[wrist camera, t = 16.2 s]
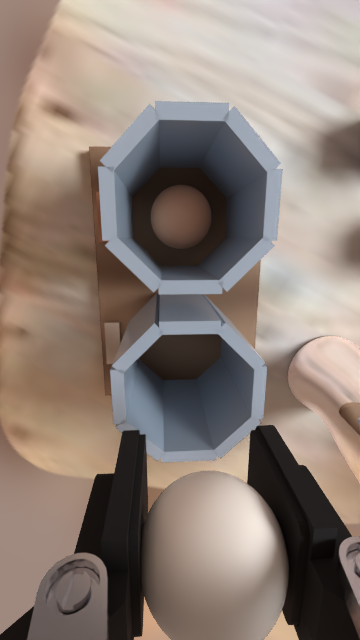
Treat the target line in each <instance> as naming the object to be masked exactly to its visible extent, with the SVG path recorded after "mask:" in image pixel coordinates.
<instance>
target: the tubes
mask: <svg viewBox="0 0 360 640" xmlns="http://www.w3.org/2000/svg"><path fill="white" fill-rule="evenodd" d="M100 161H101V163H102V164H103V165H104V167H99V166H98V177H99V193H100V210H101V227H102V241H109V242H108V243H107V244H106V245H105V246H106V247H107V248H108V249H109V250H110V251H111V252H112V253H113V254H114V255H115V256H116V257H117V258H118V259H119V260H120V261H121V262H122V263H123V264H124V265H125V266H126V267H127V268H129V269H130V270H131V271H132V272H133V273H134V274H135V275H136V276H137V277H138V278H139V279H140V280H141V281H142V282H143V283H144V284H145V285H146V286H147V287H148V288H149V289H150V290H151V291H153V292H155V291H156V290H157V289H158V292H159V295H160V296H159V295H158V294H157V293H156V294H155V295H154V296H153V297H152V298H151V299H150V300H149V301H148V302H147V303H146V304H145V305H144V306H143V307H142V308H141V310H140V311H139V312H138V313H137V314H136V315H135V316H134V317H133V318H132V319H131V320H130V321H129V323H128V326H127V328H126V331H125V333H124V336H123V339H122V341H121V344H120V346H119V349H118V351H117V354H116V357H115V359H114V362H113V364H112V367H111V369H110V376H111V393H112V409H113V424H116V429H118V430H119V431H120V432H121V433H123V431H126V430H139V431H140V434H146V453H148V454H149V455H150V456H151V457H153V458H154V459H155V460H156V461H158V460H159V459H160V458H161V462H184V461H209V460H216V455H217V456H218V457H219V458H220V459H221V458H222V457H223V456H224V455H225V454H226V453H227V452H229V451H230V450H231V449H232V448H233V447H234V446H235V445H237V444H238V443H239V442H240V441H241V440H242V439H243V438H245V437H246V436H247V435H248V434H249V433H250V432H251V431H252V430H254V429H255V428H256V426H258V425H260V424H261V422H260V420H259V419H263V416H264V403H265V390H266V377H267V366H266V365H265V363H266V362H265V361H264V360H263V359H262V358H261V356H260V355H259V354H258V353H257V352H256V350H255V349H254V348H253V347H252V346H251V345H250V343H249V342H248V341H247V340H246V339H245V337H244V336H243V335H242V334H241V333H240V332H239V330H238V329H237V328H236V327H235V326H234V324H233V323H232V322H231V321H230V320H229V319H228V318H227V317H226V316H225V315H224V314H223V313H222V312H221V311H220V310H219V309H218V308H217V307H216V306H215V305H214V304H213V303H212V302H211V301H210V300H209V299H208V297H207V296H206V295H205V294H222V288H223V289H224V290H225V291H226V292H227V291H228V290H229V289H231V288H232V287H233V286H234V285H235V284H236V283H237V282H238V281H239V280H240V279H241V278H242V277H243V276H244V275H245V274H246V273H247V272H248V271H249V270H250V269H251V268H252V267H253V266H254V265H255V264H256V263H257V262H258V261H259V260H260V259H261V258H262V257H263V256H264V255H266V254H267V253H268V252H269V251H270V250H271V249H272V248H273V247H274V244H273V243H272V242H271V241H277V234H278V221H279V208H280V195H281V182H282V169H276V168H277V167H278V166H279V165H280V164H281V163H280V162H279V160H278V159H277V158H276V157H275V155H274V154H273V153H272V152H271V151H270V149H269V148H268V147H267V146H266V144H265V143H264V142H263V141H262V139H261V138H260V137H259V136H258V134H257V133H256V132H255V131H254V130H253V128H252V127H251V126H250V125H249V123H248V122H247V121H246V120H245V118H244V117H243V116H242V115H241V113H240V112H239V111H238V110H237V109H236V107H235V106H234V107H233V108H232V109H231V110H230V111H229V103H207V102H169V101H155V109H154V108H153V107H152V106H151V105H150V104H149V105H148V106H147V107H146V108H145V110H144V111H143V112H142V113H141V114H140V115H139V116H138V118H137V119H136V120H135V121H134V122H133V123H132V124H131V126H130V127H129V128H128V129H127V130H126V131H125V132H124V134H123V135H122V136H121V137H120V138H119V139H118V140H117V142H116V143H115V144H114V145H113V146H112V147H111V148H110V150H109V151H108V152H107V153H106V154H105V155H104V156H103V158H102V159H101V160H100ZM160 167H169V168H200V169H201V170H202V171H203V172H204V173H205V175H206V176H207V177H208V178H209V179H210V180H211V181H212V182H213V184H214V185H215V186H216V187H217V188H218V189H219V190H220V191H221V193H222V194H223V195H224V196H225V197H226V223H225V238H224V239H223V240H222V241H221V242H220V243H219V244H218V245H217V246H216V247H215V249H214V250H213V251H212V252H211V253H210V254H209V255H208V256H207V257H206V258H205V259H204V260H203V261H202V262H201V263H200V264H199V265H161V264H160V263H159V262H158V261H157V260H156V259H155V258H154V257H153V256H152V255H151V254H150V253H149V252H148V251H147V250H146V249H145V248H144V247H143V246H142V245H141V244H140V243H139V242H138V241H137V240H136V239H135V238H134V225H133V196H134V195H135V194H136V193H137V192H138V191H139V190H140V189H141V188H142V186H143V185H144V184H145V183H146V182H147V181H148V180H149V179H150V178H151V177H152V175H153V174H154V173H155V172H156V171H157V170H158V169H159V168H160ZM181 334H219V335H220V336H221V357H220V358H219V359H218V360H217V361H216V362H214V363H213V364H212V365H211V366H210V367H209V368H208V369H207V370H206V371H205V372H204V373H203V374H202V375H201V376H199V377H198V378H197V379H191V380H162V379H161V378H160V377H159V376H158V375H156V374H155V373H154V372H153V371H152V370H151V369H150V368H149V367H147V366H146V365H145V364H144V363H143V362H142V361H141V360H139V359H138V358H139V357H140V356H141V355H142V354H143V353H144V352H145V351H146V350H147V349H148V348H149V347H150V346H151V345H152V344H153V343H154V342H155V341H156V340H157V339H158V338H159V337H160V336H161V335H181Z"/></svg>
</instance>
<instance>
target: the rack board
mask: <svg viewBox="0 0 360 640" xmlns="http://www.w3.org/2000/svg"><path fill="white" fill-rule="evenodd" d="M110 148H111V147H89V152H90V167H91V183H92V198H93V213H94V228H95V243H96V259H97V274H98V289H99V304H100V319H101V335H102V350H103V365H104V380H105V395H112V393H111V376H110V369H111V367H112V364H113V362H114V359H115V357H116V354H117V351H118V349H119V346H120V344H121V341H122V339H123V336H124V333H125V331H126V328H127V326H128V323H129V321H130V320H131V319H132V318H133V317H134V316H135V315H136V314H137V313H138V312H139V311H140V310H141V308H142V307H143V306H144V305H145V304H146V303H147V302H148V301H149V300H150V299H151V298H152V297H153V296H154V295H155V294H156V293H157V294H158V295H159V292H158V289H157V290H156V291H155V292H153V291H151V290H150V289H149V288H148V287H147V286H146V285H145V284H144V283H143V282H142V281H141V280H140V279H139V278H138V277H137V276H136V275H135V274H134V273H133V272H132V271H131V270H130V269H129V268H127V267H126V266H125V265H124V264H123V263H122V262H121V261H120V260H119V259H118V258H117V257H116V256H115V255H114V254H113V253H112V252H111V251H110V250H109V249H108V248H107V247H106V246H105V245H106V244H107V243H108V242H109V241H102V227H101V210H100V193H99V177H98V166H99V167H104V165H103V164H102V163H101V161H100V160H101V159H102V158H103V156H104V155H105V154H106V153H107V152H108V151H109V150H110ZM175 185H187V186H191V187H193V188H195V189H197V190H198V191H200V192H201V193H202V194H203V195H204V196H205V198H206V199H207V201H208V203H209V205H210V209H211V217H212V218H211V225H210V228H209V231H208V233H207V234H206V236H205V237H204V238H203V240H201V241H200V242H199V243H198V244H196V245H195V246H193V247H190V248H186V249H176V248H172V247H169V246H167V245H166V244H164V243H163V242H162V241H160V240H159V238H158V237H157V236H156V234H155V233H154V231H153V228H152V224H151V209H152V206H153V203H154V201H155V199H156V198H157V197H158V195H159V194H160V193H161V192H162V191H164V190H165V189H167V188H169V187H171V186H175ZM225 223H226V197H225V196H224V195H223V194H222V193H221V191H220V190H219V189H218V188H217V187H216V186H215V185H214V184H213V182H212V181H211V180H210V179H209V178H208V177H207V176H206V175H205V173H204V172H203V171H202V170H201V169H200V168H169V167H160V168H159V169H158V170H157V171H156V172H155V173H154V174H153V175H152V177H151V178H150V179H149V180H148V181H147V182H146V183H145V184H144V185H143V186H142V188H141V189H140V190H139V191H138V192H137V193H136V194H135V195H134V196H133V225H134V238H135V239H136V240H137V241H138V242H139V243H140V244H141V245H142V246H143V247H144V248H145V249H146V250H147V251H148V252H149V253H150V254H151V255H152V256H153V257H154V258H155V259H156V260H157V261H158V262H159V263H160V264H161V265H199V264H200V263H201V262H202V261H203V260H204V259H205V258H206V257H207V256H208V255H209V254H210V253H211V252H212V251H213V250H214V249H215V247H216V246H217V245H218V244H219V243H220V242H221V241H222V240H223V239H224V238H225ZM260 261H261V259H260V260H259V261H258V262H257V263H256V264H255V265H254V266H253V267H252V268H251V269H250V270H249V271H248V272H247V273H246V274H245V275H244V276H243V277H242V278H241V279H240V280H239V281H238V282H237V283H236V284H235V285H234V286H233V287H232V288H231V289H229V290H228V291H227V292H226V291H225V290H224V289H223V288H222V294H205V295H206V296H207V297H208V299H209V300H210V301H211V302H212V303H213V304H214V305H215V306H216V307H217V308H218V309H219V310H220V311H221V312H222V313H223V314H224V315H225V316H226V317H227V318H228V319H229V320H230V321H231V322H232V323H233V324H234V326H235V327H236V328H237V329H238V330H239V332H240V333H241V334H242V335H243V336H244V337H245V339H246V340H247V341H248V342H249V343H250V345H251V346H252V347H253V348H254V349H255V338H256V322H257V307H258V292H259V276H260ZM159 296H160V295H159ZM220 357H221V336H220V335H219V334H181V335H161V336H160V337H159V338H158V339H157V340H156V341H155V342H154V343H153V344H152V345H151V346H150V347H149V348H148V349H147V350H146V351H145V352H144V353H143V354H142V355H141V356H140V357H139V358H138V359H139V360H141V361H142V362H143V363H144V364H145V365H146V366H147V367H149V368H150V369H151V370H152V371H153V372H154V373H155V374H156V375H158V376H159V377H160V378H161V379H162V380H191V379H197V378H198V377H199V376H201V375H202V374H203V373H204V372H205V371H206V370H207V369H208V368H209V367H210V366H211V365H212V364H213V363H214V362H216V361H217V360H218V359H219V358H220Z"/></svg>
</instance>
